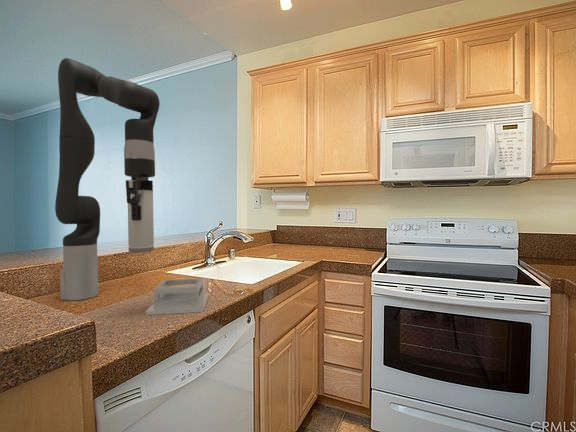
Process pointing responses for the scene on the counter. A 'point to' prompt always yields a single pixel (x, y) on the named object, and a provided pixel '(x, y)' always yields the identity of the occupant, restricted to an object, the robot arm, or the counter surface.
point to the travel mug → (142, 223)
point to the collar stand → (178, 297)
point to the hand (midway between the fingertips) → (141, 219)
